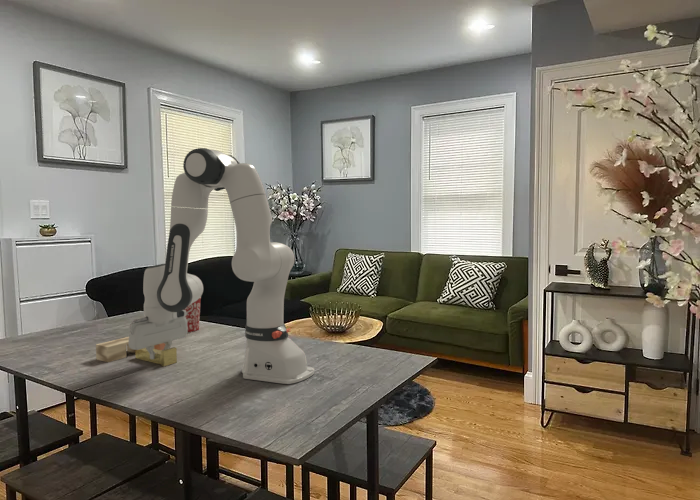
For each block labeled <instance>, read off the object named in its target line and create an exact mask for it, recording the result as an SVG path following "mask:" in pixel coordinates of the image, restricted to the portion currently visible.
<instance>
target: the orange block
mask: <svg viewBox="0 0 700 500" xmlns="http://www.w3.org/2000/svg"><path fill="white" fill-rule="evenodd" d="M165 345H166V344H164V343H162V344H158V345H154V349H157V350H163V349H164V347H165Z"/></svg>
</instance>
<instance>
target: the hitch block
mask: <svg viewBox="0 0 700 500" xmlns="http://www.w3.org/2000/svg"><path fill="white" fill-rule="evenodd" d="M128 342H129V336H125V337H121V338H117V339H113V340H110V341H109V340H108V341H104V342H100V343H96V344H95V355H96V356H95V357H96V358H95V360H96V361H100V362H101V361H102V362H105V363H111V362H113V361H114V362H115V361H117V360H118V361H119V360H122V359H125V358H127V353H134V354H135V350H134V349H131V348H130V347H129V345H128Z"/></svg>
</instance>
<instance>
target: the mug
mask: <svg viewBox="0 0 700 500" xmlns="http://www.w3.org/2000/svg"><path fill="white" fill-rule="evenodd" d="M201 299H202V296H201V297H200V298H199V299H198V300H197V301H195V302H194V303H192V304H190V305H189V306H187V307H186V308H185V309H184V310H186V316H185V318H186V319H187V327H188V332H187V333H191V332H196V331H199V330H200V317H201V316H200V315H201Z"/></svg>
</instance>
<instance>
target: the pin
mask: <svg viewBox="0 0 700 500" xmlns="http://www.w3.org/2000/svg"><path fill="white" fill-rule="evenodd" d="M177 349H178V348H177V347H170V349H166V350H163V351H162V350H157V349H153V351H154V352H155V353H157V358H156V359H150V353H149V352H148V351H147V349H146V348H143V349H139V350H135V353H134V355H135V359H137V360H141V361H145V362H150V363H153V364H156V365H161V367H167V366H170V365H173V364H176V363H177V362H178V361H177V359H178V354H177V352H178V350H177Z"/></svg>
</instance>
